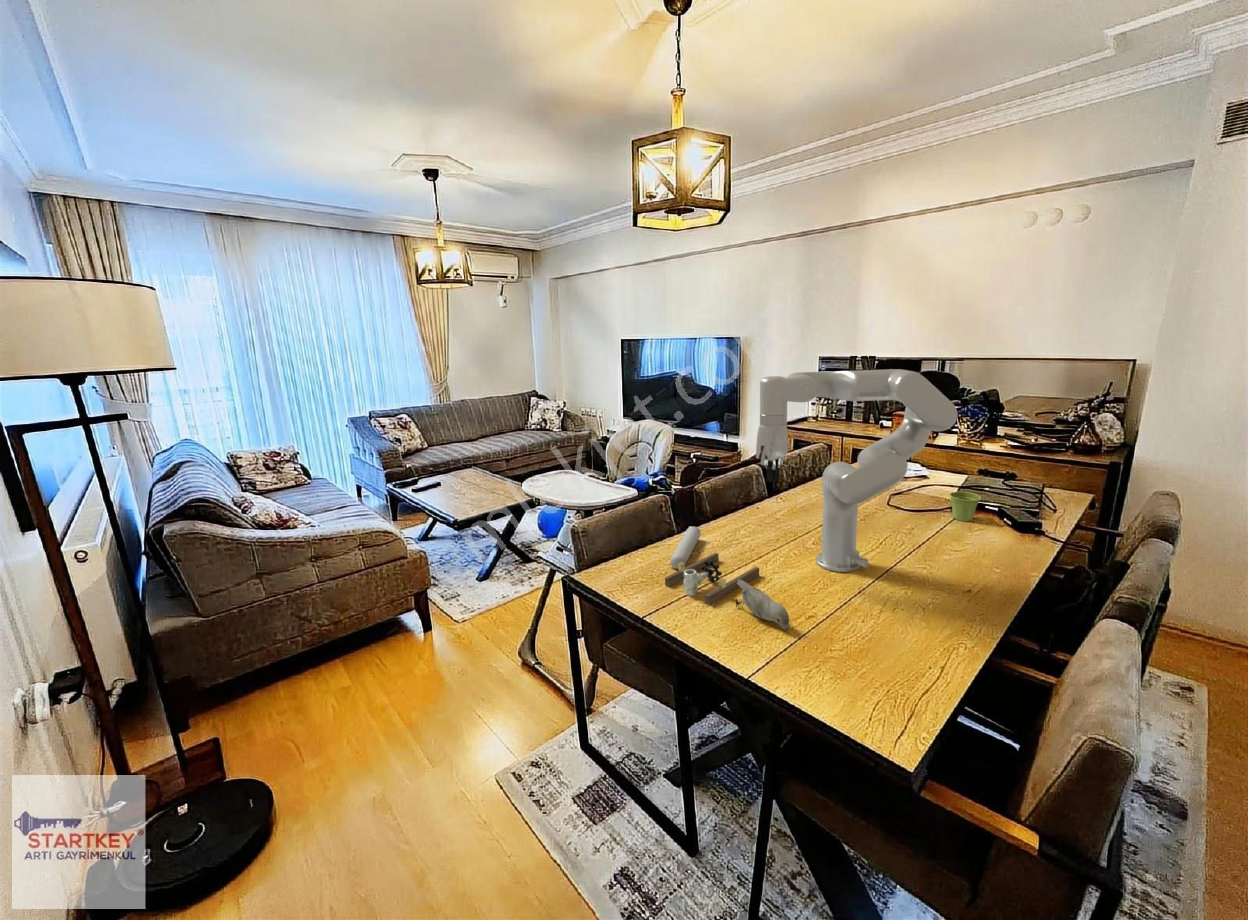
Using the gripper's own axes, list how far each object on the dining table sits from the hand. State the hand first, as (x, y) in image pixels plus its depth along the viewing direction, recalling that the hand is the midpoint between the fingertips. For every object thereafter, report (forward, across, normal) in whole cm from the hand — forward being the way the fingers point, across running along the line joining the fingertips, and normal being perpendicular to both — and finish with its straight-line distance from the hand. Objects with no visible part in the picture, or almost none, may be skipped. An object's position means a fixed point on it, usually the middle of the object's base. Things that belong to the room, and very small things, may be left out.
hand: (772, 480), depth 152 cm
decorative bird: (+28, +27, +15) cm, 41 cm away
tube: (+28, +11, -25) cm, 39 cm away
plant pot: (+27, -76, +29) cm, 86 cm away
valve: (+28, +26, -7) cm, 38 cm away
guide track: (+27, +20, -7) cm, 34 cm away
